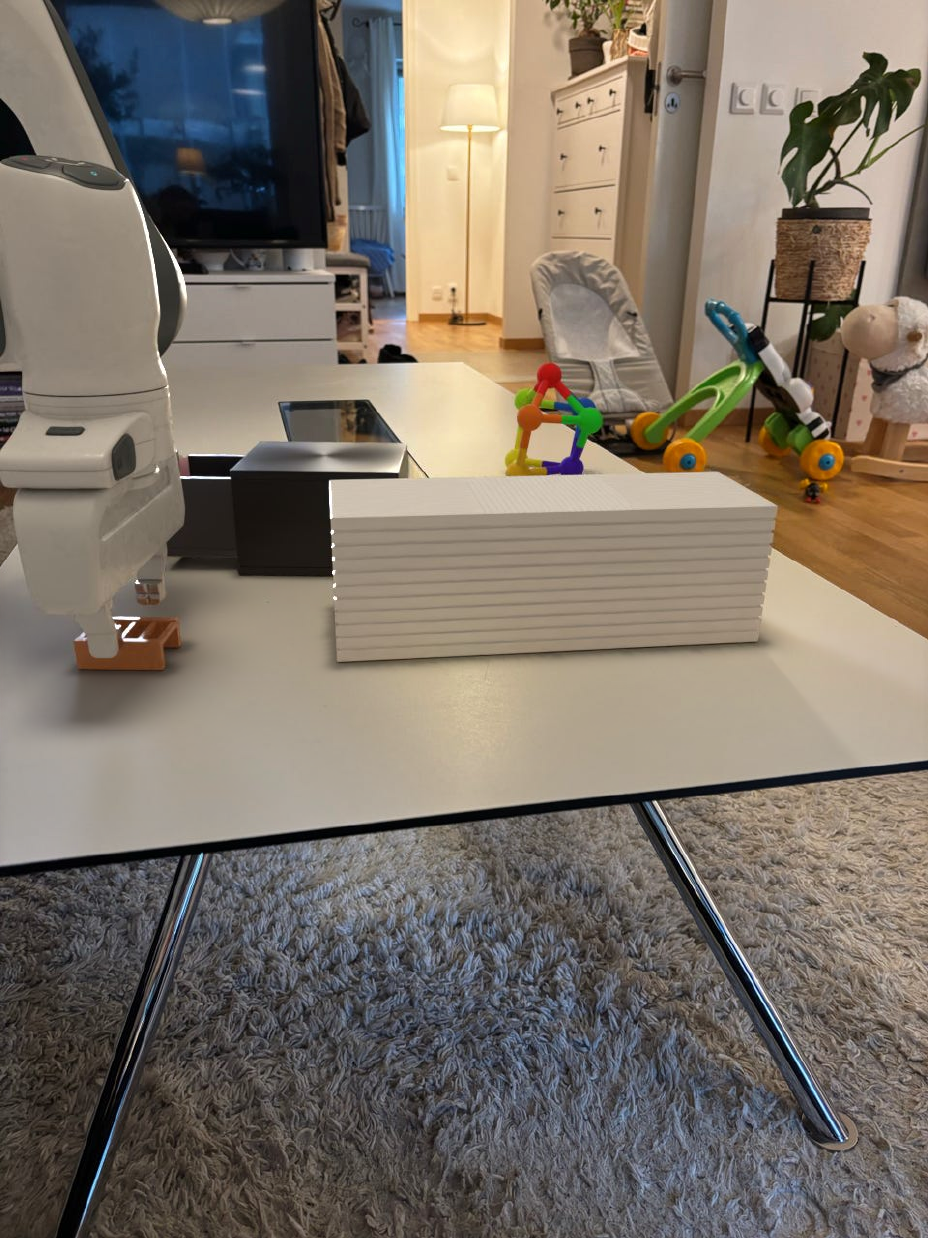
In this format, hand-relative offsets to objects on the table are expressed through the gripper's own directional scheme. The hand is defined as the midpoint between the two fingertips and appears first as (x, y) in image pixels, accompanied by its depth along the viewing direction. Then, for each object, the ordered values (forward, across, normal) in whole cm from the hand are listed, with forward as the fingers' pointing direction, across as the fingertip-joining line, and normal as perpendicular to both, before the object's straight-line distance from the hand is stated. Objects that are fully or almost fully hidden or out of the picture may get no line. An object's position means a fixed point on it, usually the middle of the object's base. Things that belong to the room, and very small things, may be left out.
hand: (131, 626), depth 65 cm
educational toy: (+3, -56, +35) cm, 66 cm away
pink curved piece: (+2, -40, -6) cm, 40 cm away
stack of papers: (+3, -7, +30) cm, 31 cm away
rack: (+2, 0, 0) cm, 2 cm away
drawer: (+1, -24, 0) cm, 24 cm away
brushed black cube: (+2, -24, +11) cm, 26 cm away
